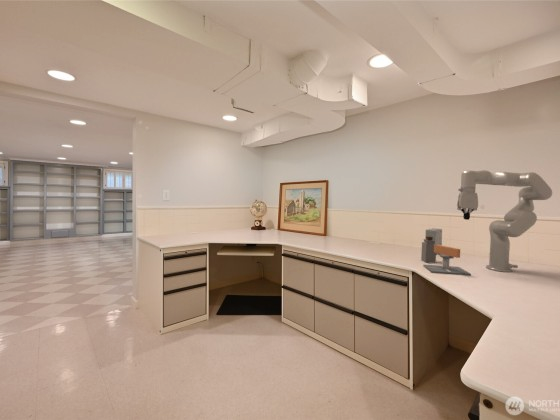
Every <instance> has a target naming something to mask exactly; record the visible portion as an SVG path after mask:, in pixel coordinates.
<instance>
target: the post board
mask: <svg viewBox="0 0 560 420" xmlns="http://www.w3.org/2000/svg"><path fill="white" fill-rule="evenodd" d="M450 259H451V258H442V265H436V264H435V265H434V264H423V265H422V266H423V267H424V268H425V269H426V270H428V271H429V272H430V273H431V274H443V275H444V274H445V275H457V276H458V275H459V276H472V273H470V272H469V271H467V270H465V269H463V268H462V267H460V266H450V261H451V260H450Z"/></svg>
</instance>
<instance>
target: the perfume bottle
mask: <svg viewBox="0 0 560 420" xmlns="http://www.w3.org/2000/svg"><path fill="white" fill-rule="evenodd" d="M434 242H435V240H433V237H431V236H426V239H425V238H423V241H422V242H421V259H420V261H421V262H424V264H425V263H426V264H428V263H429V264H436V263H437V262H436V261H437V254H436V253H435V252H434V245H436V244H435V243H434Z"/></svg>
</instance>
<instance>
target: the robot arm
mask: <svg viewBox="0 0 560 420" xmlns="http://www.w3.org/2000/svg"><path fill="white" fill-rule="evenodd" d="M460 178H461V179H460V188H458V189H457V191H459V194H458V197H457V203H456V204H457V205H456V206H457V208H456V209H457V210H458V211H461V212H462V214H463V217H462V218H463V220H466V221H468V220H469V221H470V218H471V214H472V212H475V211H477V210H478V207H479V197H478V193H477V192H476V186H477V185H488V186H489V185H490V186H503V187H505V186H507V187H515V188H517V187H518V188H519V187H520V188H521V187H522V188H521V189H520V190H519V191H518V203H517V204H516V205H515V206H513V207H512V208H511V209H510V210H509V211H508V212H507V213H505V215H504V216H503V220H502V219H501V220H500V219H497V220H493V221H491V222H490V224H489V227H488V231H489V235H490V238H489V239H490V240H489V242H490V246H489V261H488V264H487V265H485V267H486V269H488V270H492V271H495V272H504V273H510V272H513V269H512V268H514V269H518V267H519V265H518V264H513V263H510V250H511V249H510V246H511V243H510V238H518V237H520V236H522V235H524V234H525V233H526V232H527V231H528V230H530V229H531V228H532V227H533V226H534V225H535V224H536V222H537V221H538V219H537V218H538V217H537V214H536V213H535V212H534V211H535V204H534V201H546V200H548V199H550V198H551V197H552V195H553V189H552V188H551V187H550V185H549V184H548V183H547V182H546V181H545V180H544V179H543V177H542V176H540V175H539V174H537V173H536V172H521V173H520V172H507V171H496V172H490V171H488V170H463V171H462V172H461V175H460Z"/></svg>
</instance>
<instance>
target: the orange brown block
mask: <svg viewBox="0 0 560 420" xmlns="http://www.w3.org/2000/svg"><path fill="white" fill-rule="evenodd" d="M434 252H435V253H438V255H439V257H440V258H442V259H443V258H450V259H454V258H458V259H459V258H461V249H460V248H457V247H450V246H446V245H443V244H442V245H434Z"/></svg>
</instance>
